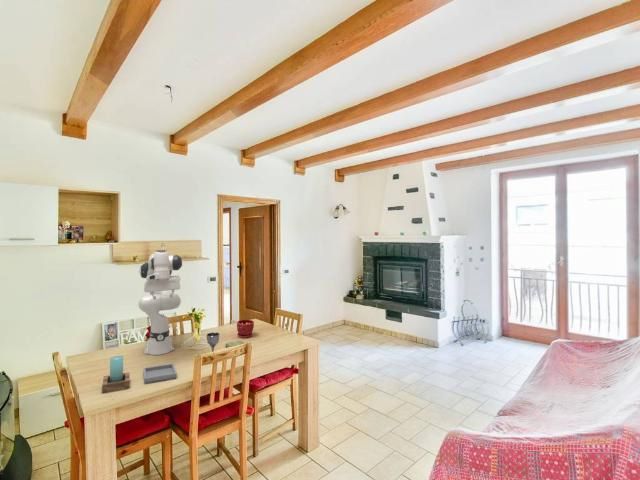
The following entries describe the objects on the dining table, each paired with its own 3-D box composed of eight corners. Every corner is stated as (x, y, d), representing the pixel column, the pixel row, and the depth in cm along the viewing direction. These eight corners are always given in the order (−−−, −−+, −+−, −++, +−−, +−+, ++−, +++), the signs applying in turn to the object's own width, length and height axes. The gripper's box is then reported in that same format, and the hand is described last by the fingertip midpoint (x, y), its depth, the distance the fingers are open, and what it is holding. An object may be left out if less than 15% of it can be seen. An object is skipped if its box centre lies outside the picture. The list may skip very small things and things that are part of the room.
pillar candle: (110, 384, 181) (110, 357, 181) (123, 382, 184) (123, 355, 184) (109, 389, 176) (109, 360, 175) (122, 387, 179) (123, 359, 178)
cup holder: (103, 383, 182) (103, 376, 182) (129, 379, 188) (129, 372, 188) (102, 393, 172) (102, 385, 172) (129, 388, 178) (129, 380, 177)
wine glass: (220, 354, 229) (220, 332, 228) (217, 359, 221) (217, 336, 220) (208, 354, 228) (208, 332, 228) (204, 358, 221) (205, 335, 220)
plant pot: (233, 338, 265) (233, 322, 264) (242, 333, 277) (242, 318, 277) (248, 340, 261) (248, 324, 261) (256, 335, 274) (256, 320, 273)
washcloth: (235, 353, 232) (236, 349, 232) (224, 346, 245) (224, 342, 245) (252, 349, 241) (252, 345, 241) (240, 343, 254) (240, 339, 254)
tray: (143, 373, 197) (143, 368, 197) (173, 368, 205) (173, 363, 204) (144, 384, 183) (144, 378, 183) (176, 378, 191) (176, 373, 191)
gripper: (179, 274, 220) (179, 296, 218) (143, 277, 208) (144, 300, 207) (180, 274, 214) (181, 296, 213) (144, 277, 203) (145, 300, 202)
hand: (162, 298), depth 210 cm, fingers open, 8 cm apart
